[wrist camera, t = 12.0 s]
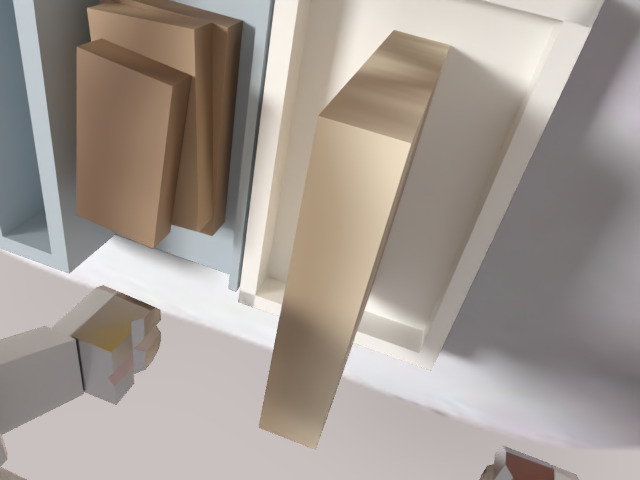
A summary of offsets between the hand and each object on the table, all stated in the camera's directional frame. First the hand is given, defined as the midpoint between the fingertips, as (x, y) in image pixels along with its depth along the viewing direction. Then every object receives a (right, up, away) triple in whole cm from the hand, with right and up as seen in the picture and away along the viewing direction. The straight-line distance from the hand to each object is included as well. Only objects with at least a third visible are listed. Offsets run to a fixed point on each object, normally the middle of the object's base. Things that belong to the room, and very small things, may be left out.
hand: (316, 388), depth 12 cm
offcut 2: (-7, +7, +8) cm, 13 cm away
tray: (+3, +6, +10) cm, 12 cm away
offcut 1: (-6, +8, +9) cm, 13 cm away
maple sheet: (+3, +6, +9) cm, 11 cm away
